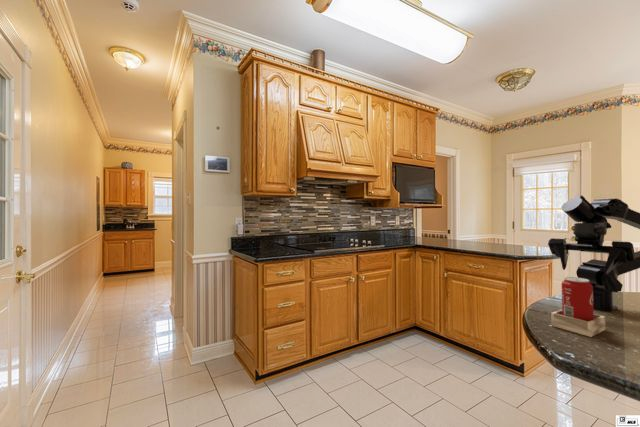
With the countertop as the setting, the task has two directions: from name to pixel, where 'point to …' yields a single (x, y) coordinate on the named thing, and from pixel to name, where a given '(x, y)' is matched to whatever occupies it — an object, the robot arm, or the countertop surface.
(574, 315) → the beverage can
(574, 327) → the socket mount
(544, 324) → the countertop surface
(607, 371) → the countertop surface
